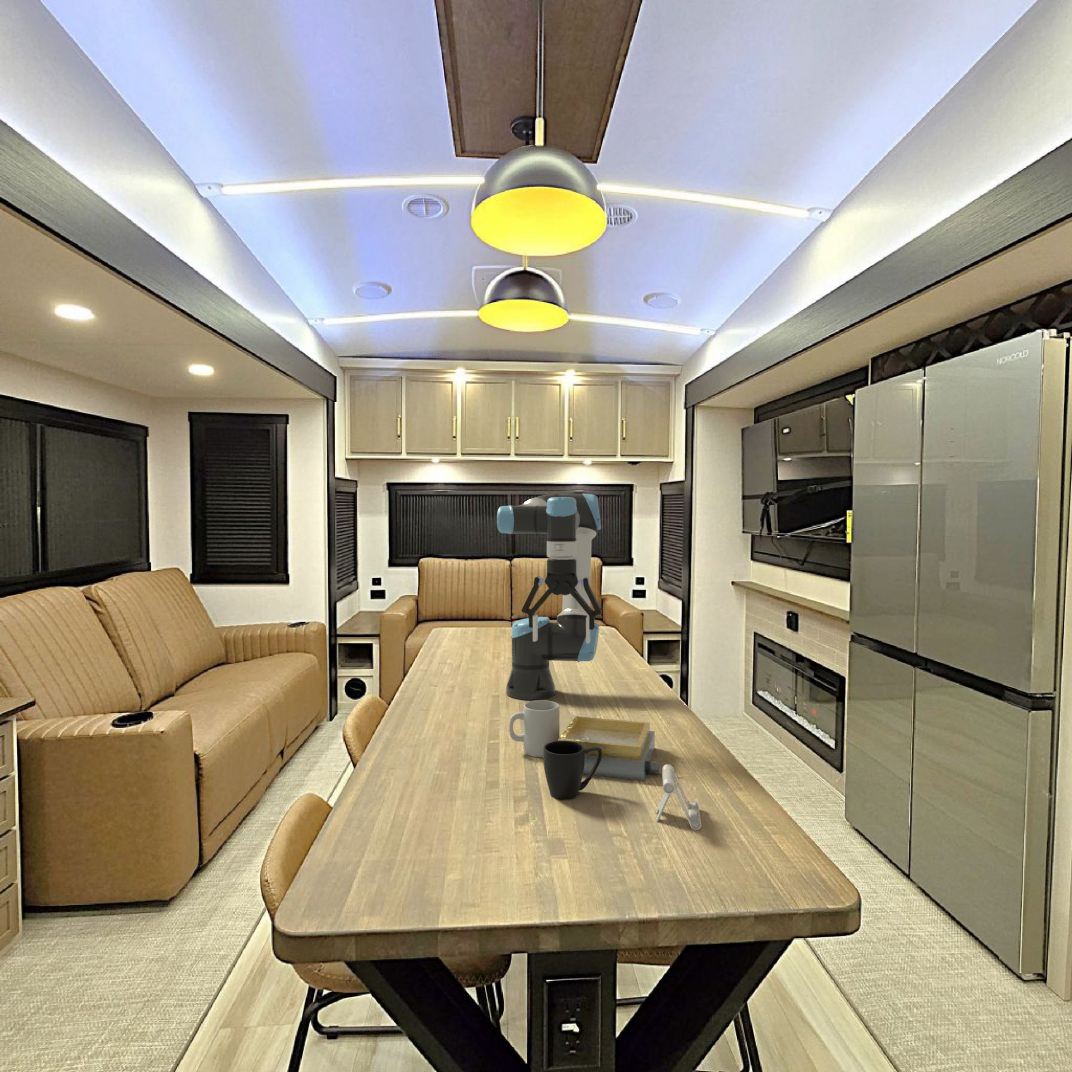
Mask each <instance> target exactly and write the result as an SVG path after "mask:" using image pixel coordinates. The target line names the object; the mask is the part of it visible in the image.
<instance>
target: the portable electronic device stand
mask: <svg viewBox="0 0 1072 1072" xmlns="http://www.w3.org/2000/svg"><path fill="white" fill-rule="evenodd" d="M675 770H676V769H674V767H673V766H672V764H664V765H663V766H662V790H663V792H664V793H663V795H662V797H661V800H660V802H659V803H658V806H657V808H656V811H655V813H656V814H657V816H656V818H655V821H656V822H659V820H660V818H661V816H662V814H663V811H664V809H665V808H666V805H667V803H668V801H669V799H670V796H671V795H672V794H673V795H674V794H675V795H676V797H677V799H678V800H679V804H680V805H681V808H682V811H683V813H684V815H685V817H686V819H687V821H688V824H689V825H690V828H691V829H692V830H694V831H698V830H700V829H701V828H702V820H701V813H700V807H699V800H698V797H697V798H695V800H694V802H691V803H690V801H689V800H688V798H687V796H686V794H685V791H684V789H683V787H682V785H681V783H680V780H679V778H678V776H677V773H676V771H675ZM675 782H676V783H675ZM677 786H678V788H677ZM678 789H679V790H678ZM679 791H680V792H679ZM680 793H681V794H680ZM681 795H682V797H681ZM682 798H683V799H684V802H685V804H686V806H685V804H684V802H683V799H682ZM686 807H687V808H686ZM687 809H688V811H687Z"/></svg>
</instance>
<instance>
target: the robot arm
mask: <svg viewBox="0 0 1072 1072" xmlns="http://www.w3.org/2000/svg"><path fill="white" fill-rule="evenodd" d="M598 500H599V499H598V497H597V495H595V494H591V493H548V494H544V495H539V496H536V497H533V498H530V499H528V500H526V501H524V503H522V504H519V505H501V506H499V508H498V509H497V512H496V514H497V515H496V525H497V531H499V533H501V534H509V535H511V534H513V535H514V534H516V535H517V534H546V557H547V558H548V559H547V560H546V576H545V577H541V576H540V575H539V576H536V577H534V579H533V586H532V588H531V590H530V592H529V594H528V596H527V598H526V600H525V603H524V604H523V607H522V609H521V612H522V613H523V614H525V615H526V614H527V615H528V617H527V618H522V619H519V620H517V621H514V623H513V624H512V626H511V637H510V639H511V670H510V674H509V676H508V679H507V683H506V686H505V691H506V693H505V694H506V695H507V696H508V697H510V698H513V699H517V700H526V701H527V700H528V701H536V700H543V699H549V698H551V697H554V695H555V694H556V686H555V682H554V679H553V675H552V673H551V669H550V661H554V662H557V661H558V662H560V661H561V662H577V663H580V662H591V661H593V660H594V658H595V657H596V653H597V649H598V648H597V646H598V643H599V642H598V641H599V633H600V625H599V623H597V622H596V621H595V617H596V616H600V615H601V614H602V611H603V610H602V608H601V606H600V604H599V602H598V600H597V598H596V596H595V594H594V592H593V590H592V587H591V577H592V576H591V575H592V540H593V539H595V537H596V536H597V531H599V530H601V529H602V524H601V523H602V522H601V516H600V515H601V514H600V507H599V501H598ZM544 584H545V585H546V586H547V590H546V591H544V593H543V595H542V596H540V598H539V599H538V600H537V602H536V603H535V604H534V605H533V606H532V608H530V607H531V605H532V603H533V601H534V599H535V597H536V595H537V593H538V591H539V588H540V586H542V585H544ZM552 594H553V595H554V596H560V595H562V604H561V605H562V607H561V610H562V611H561V612H560V613H559V614H558V615H557V617H556V621H555V622H551V620H550V618H549V617H548V616H539V615H538V614H536V612H537V611H538V609H540V607H542V605H543V604H544V602H546V600H547V599H548V598H549V597H550V595H552ZM591 606H592V607H591ZM592 608H593V609H592Z"/></svg>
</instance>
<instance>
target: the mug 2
mask: <svg viewBox="0 0 1072 1072" xmlns="http://www.w3.org/2000/svg"><path fill="white" fill-rule="evenodd" d="M590 751H598V756H597V760H596V762H595V764H594V766H593V768H592V770H591V772H590V773H589V775H586V777H585V778H584V780H583V776H584V774H583V771H584V761H585V753H588V752H590ZM542 758H543V770H544V774H545V780H546V782H547V783H546V784H547V787H548V790H549V793H550V796H551V797H552V798H554V799H556V800H561V801H562V800H563V801H569V800H572V799H575V798H577V797H578V795H579V792H580V791H583V790H584V789H585V788H586V787H587V786H588V785H589V783H590V782H591V780H592V778H593V776H595V775H594V773H595V771H596V769H597V768H598V766H599V764H600V762H601V759H602V750H601V748H599V747H590V748H586V749H585V748H584V746H583V745H582V744H580V743H577V742H573V741H553V742H550V743H547V744H546V745H545V746H544V748H543V757H542ZM582 780H583V781H582Z"/></svg>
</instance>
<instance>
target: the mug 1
mask: <svg viewBox="0 0 1072 1072" xmlns="http://www.w3.org/2000/svg"><path fill="white" fill-rule="evenodd" d="M516 720H522V721H523V732H522V733H520V734H516V733H515V732H514V722H515V721H516ZM508 732H509V736H510V738H511V740H513V741H515V742H523V753H525V755H527V756H530V757H532V758H540V759H541V758H543V748H544V746H545V745H546V744H547V743H550V742H553V741H558V739H559V738H560V736H561V735H560V704H559V703H558V702H555V701H552V700H543V699H536V700H529V701H528V702H526V703H524V704H523V711H519V712H514V713H513V714H512V715H511V716H510V718H509V721H508Z"/></svg>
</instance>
